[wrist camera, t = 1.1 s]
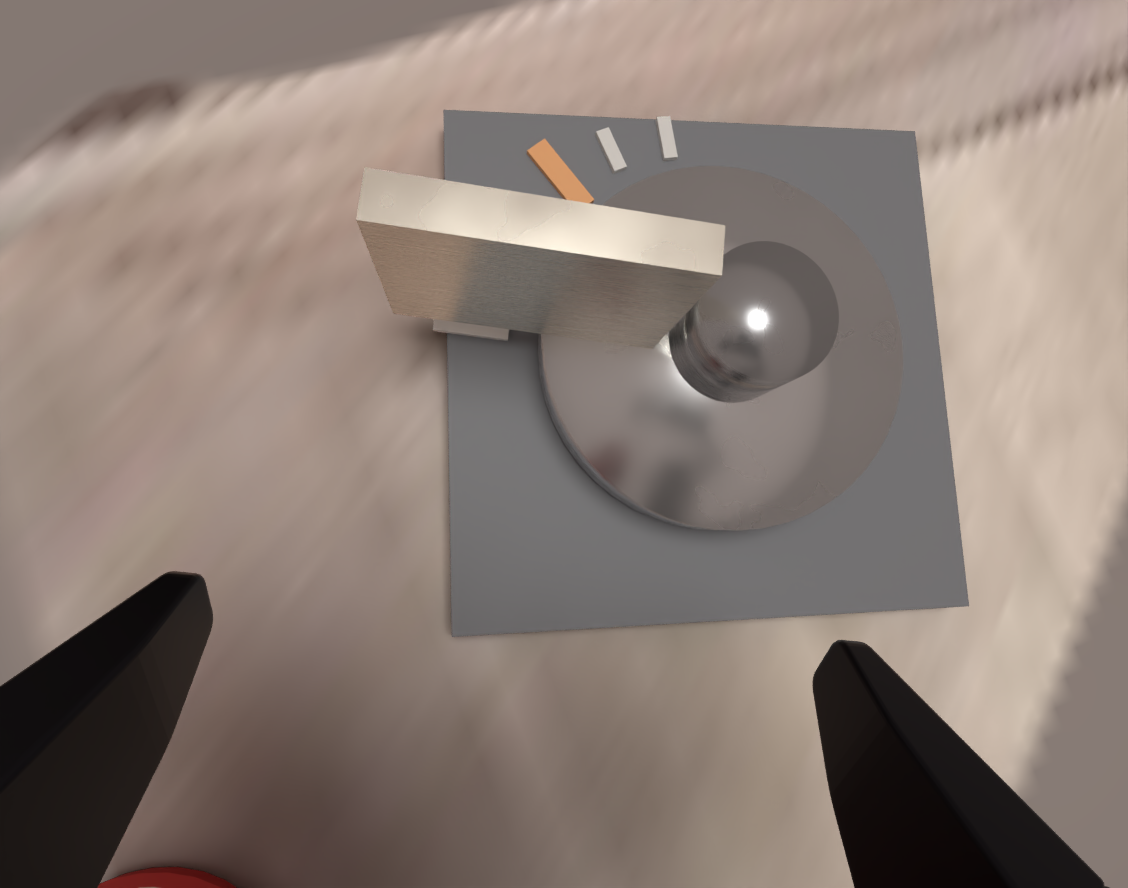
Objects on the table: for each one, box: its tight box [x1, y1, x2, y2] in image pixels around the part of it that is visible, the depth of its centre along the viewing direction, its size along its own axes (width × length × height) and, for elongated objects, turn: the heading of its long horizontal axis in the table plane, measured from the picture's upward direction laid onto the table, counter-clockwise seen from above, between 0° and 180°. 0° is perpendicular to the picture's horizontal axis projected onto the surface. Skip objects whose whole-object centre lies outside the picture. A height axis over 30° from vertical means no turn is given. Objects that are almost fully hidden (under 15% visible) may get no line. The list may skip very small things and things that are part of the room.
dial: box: [356, 166, 903, 530], centre depth 18 cm, size 16×12×8 cm
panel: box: [433, 110, 969, 637], centre depth 23 cm, size 18×18×1 cm
